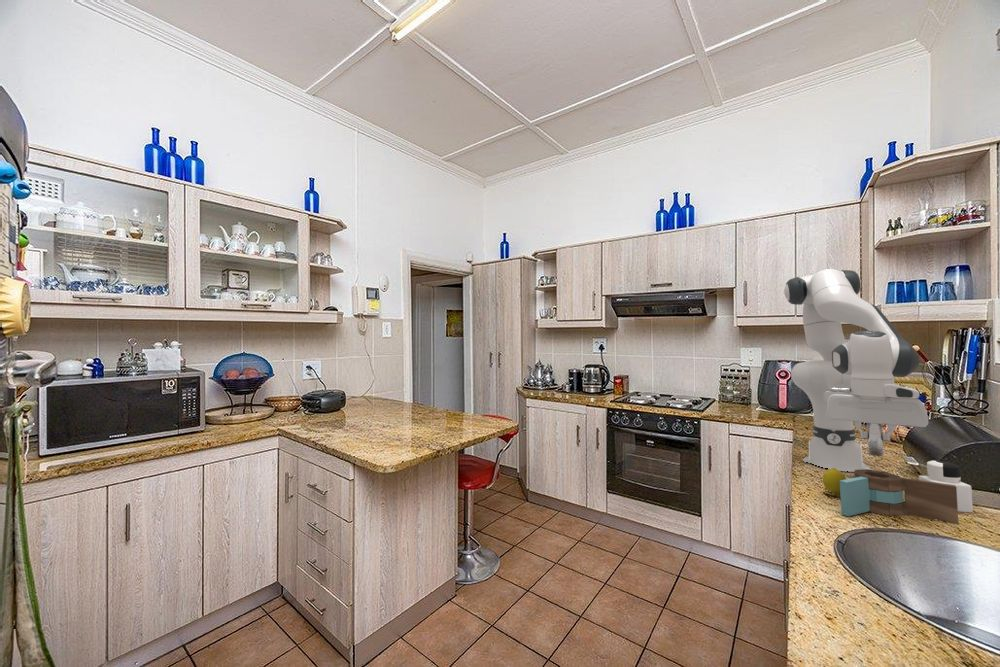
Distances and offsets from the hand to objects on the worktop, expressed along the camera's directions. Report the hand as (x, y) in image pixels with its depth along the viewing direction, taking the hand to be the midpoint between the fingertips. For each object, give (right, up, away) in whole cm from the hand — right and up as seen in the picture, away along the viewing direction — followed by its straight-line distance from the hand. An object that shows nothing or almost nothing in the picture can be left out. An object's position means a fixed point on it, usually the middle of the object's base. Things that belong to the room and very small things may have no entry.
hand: (875, 439), depth 107 cm
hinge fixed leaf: (+4, -18, -4) cm, 19 cm away
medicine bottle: (+19, -19, 0) cm, 27 cm away
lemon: (-3, -19, +9) cm, 21 cm away
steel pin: (0, -4, 0) cm, 4 cm away
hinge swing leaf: (-4, -18, -2) cm, 19 cm away
